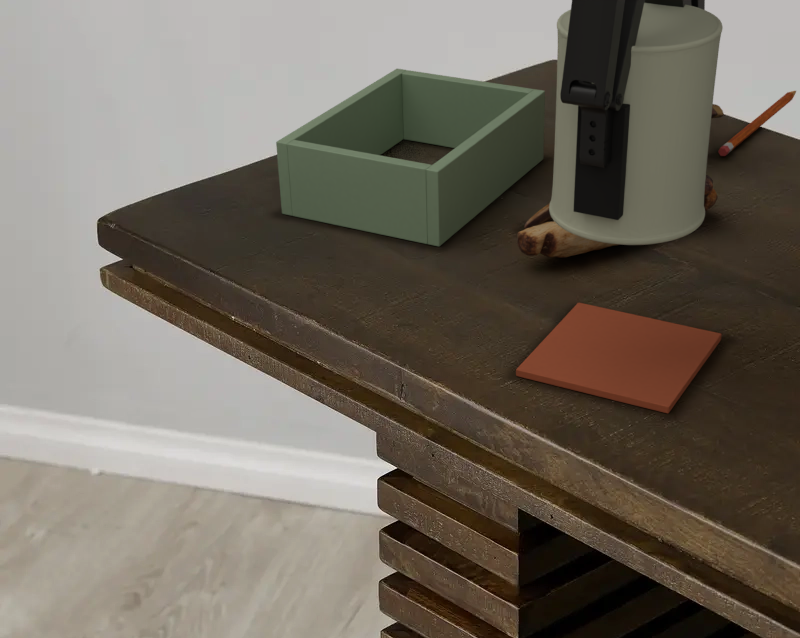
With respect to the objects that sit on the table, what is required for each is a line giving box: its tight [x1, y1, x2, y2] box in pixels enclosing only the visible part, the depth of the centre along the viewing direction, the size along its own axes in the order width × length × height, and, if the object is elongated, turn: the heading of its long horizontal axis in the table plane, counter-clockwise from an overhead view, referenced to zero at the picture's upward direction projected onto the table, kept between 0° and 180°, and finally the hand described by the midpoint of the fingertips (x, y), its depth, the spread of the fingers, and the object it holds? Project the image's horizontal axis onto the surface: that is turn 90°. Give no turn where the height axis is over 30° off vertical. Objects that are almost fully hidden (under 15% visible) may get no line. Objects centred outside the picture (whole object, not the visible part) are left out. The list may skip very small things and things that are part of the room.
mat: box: [515, 302, 723, 414], centre depth 88 cm, size 10×10×1 cm
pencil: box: [717, 90, 797, 157], centre depth 122 cm, size 1×18×1 cm, turn 147°
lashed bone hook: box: [516, 174, 719, 259], centre depth 103 cm, size 9×5×18 cm
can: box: [549, 3, 724, 246], centre depth 80 cm, size 9×9×12 cm
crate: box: [275, 68, 546, 247], centre depth 111 cm, size 14×19×6 cm
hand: (628, 183), depth 82 cm, fingers closed on can, 9 cm apart
